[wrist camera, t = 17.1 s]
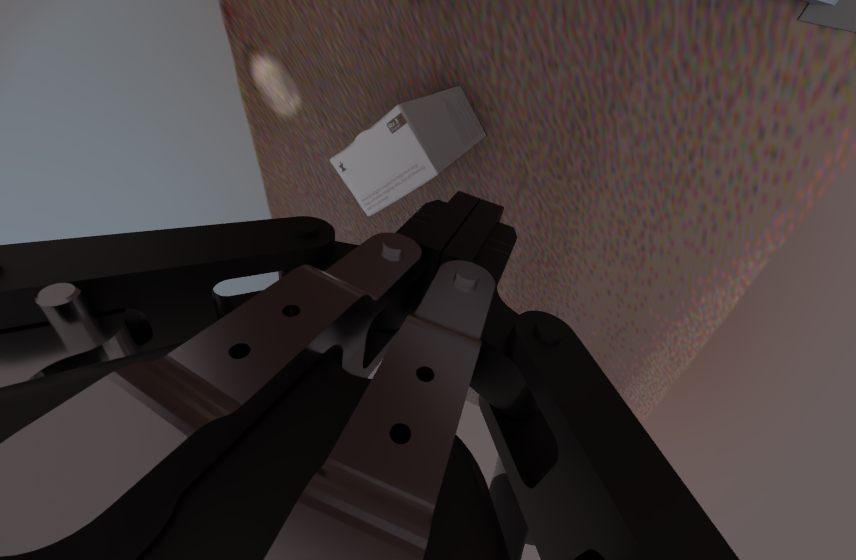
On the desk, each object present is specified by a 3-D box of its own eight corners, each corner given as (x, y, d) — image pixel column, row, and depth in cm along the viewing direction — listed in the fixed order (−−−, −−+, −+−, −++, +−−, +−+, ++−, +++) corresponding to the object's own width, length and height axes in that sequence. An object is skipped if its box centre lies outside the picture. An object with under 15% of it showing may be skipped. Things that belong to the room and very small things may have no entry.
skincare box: (430, 170, 43) (366, 223, 32) (402, 123, 41) (323, 162, 30) (491, 132, 38) (440, 179, 27) (461, 77, 36) (393, 103, 25)
